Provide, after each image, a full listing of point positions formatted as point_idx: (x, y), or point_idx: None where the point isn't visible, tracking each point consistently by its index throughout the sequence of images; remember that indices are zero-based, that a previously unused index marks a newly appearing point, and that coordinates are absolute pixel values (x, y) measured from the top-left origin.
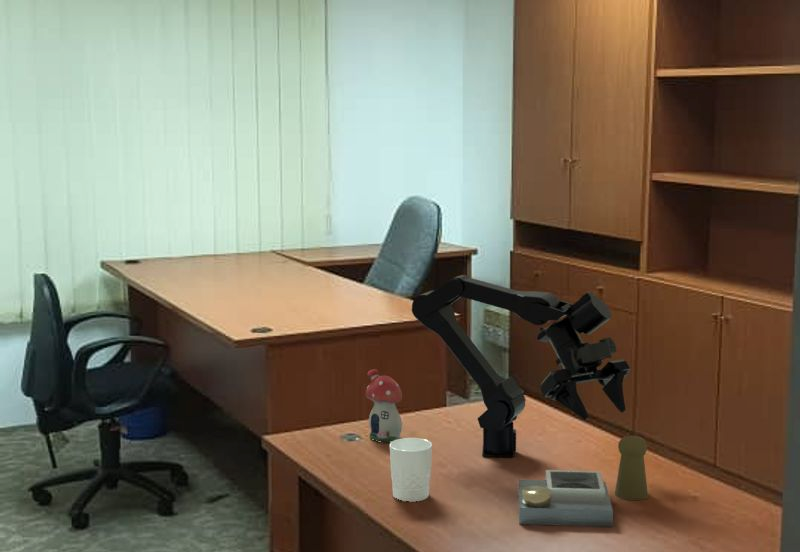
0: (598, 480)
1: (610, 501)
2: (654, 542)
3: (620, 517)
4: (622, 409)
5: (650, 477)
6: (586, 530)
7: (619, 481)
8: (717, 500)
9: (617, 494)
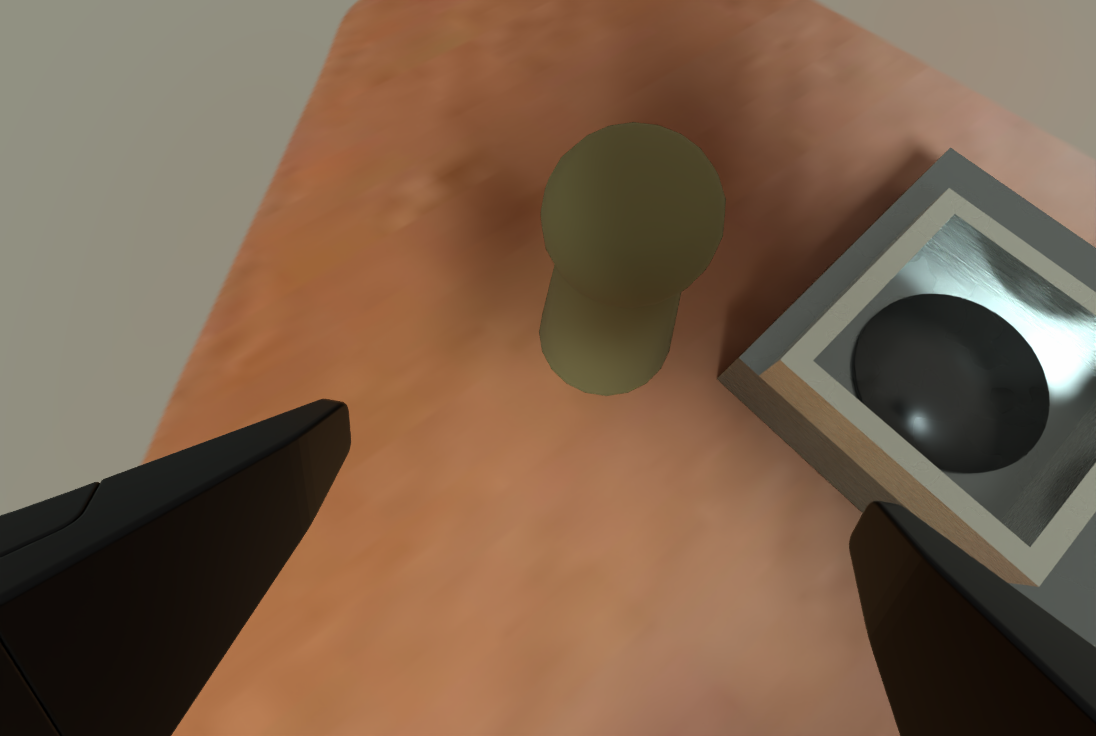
0: (882, 285)
1: (892, 205)
2: (873, 53)
3: (818, 223)
4: (337, 427)
5: (379, 397)
6: None
7: (673, 327)
8: (424, 114)
9: (668, 350)
